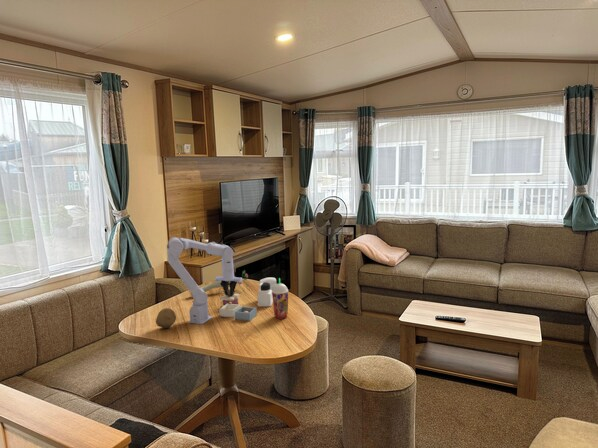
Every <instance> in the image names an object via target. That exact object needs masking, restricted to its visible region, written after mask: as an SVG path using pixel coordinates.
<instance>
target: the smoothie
mask: <svg viewBox="0 0 598 448" xmlns="http://www.w3.org/2000/svg"><path fill="white" fill-rule="evenodd" d="M272 298H273V303H272V304H273V313H274V316H275V318H276V319H278V320H280V319H286V318H287V317H288V315H289V289H288V287H287V286H286V285H285V284H284V283H282V282H281V278H280V277H279V278H278V283H276V285H275V286H274V287H273V289H272Z"/></svg>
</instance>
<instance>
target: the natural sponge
mask: <svg viewBox="0 0 598 448" xmlns="http://www.w3.org/2000/svg"><path fill="white" fill-rule="evenodd" d="M176 321H177V315H176V313H175V311H174V310H173V309H172V308H169V307H167V308H166V307H165V308H162V309H160V311H159V312H158V313H157V316H156V318H155V324H156V326H158V327H159V328H162V329H165V328H168V329H169V327H170V328H171V327H172V326H173V325H174V323H175V322H176Z"/></svg>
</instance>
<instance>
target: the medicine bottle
mask: <svg viewBox="0 0 598 448" xmlns="http://www.w3.org/2000/svg"><path fill="white" fill-rule="evenodd" d="M256 295H257V296H256V297H257V307H271V306H272V304H273V298H272V290H270V283H267V282H263V283H260V284H259V283H258V292H257V294H256Z"/></svg>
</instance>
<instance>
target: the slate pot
mask: <svg viewBox="0 0 598 448" xmlns="http://www.w3.org/2000/svg"><path fill="white" fill-rule="evenodd" d="M244 311H248V312H249V313H246V312H244ZM257 312H258V311H257V307H255V306H254V307H253V306H252V307H251V306H241V308H240V309H238V310H237V311H236V312H235V317H234V318H235V320H236V321H244V322H247V321H248V322H251V321H252V320H253V319H255V317H257V316H258V313H257Z"/></svg>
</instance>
